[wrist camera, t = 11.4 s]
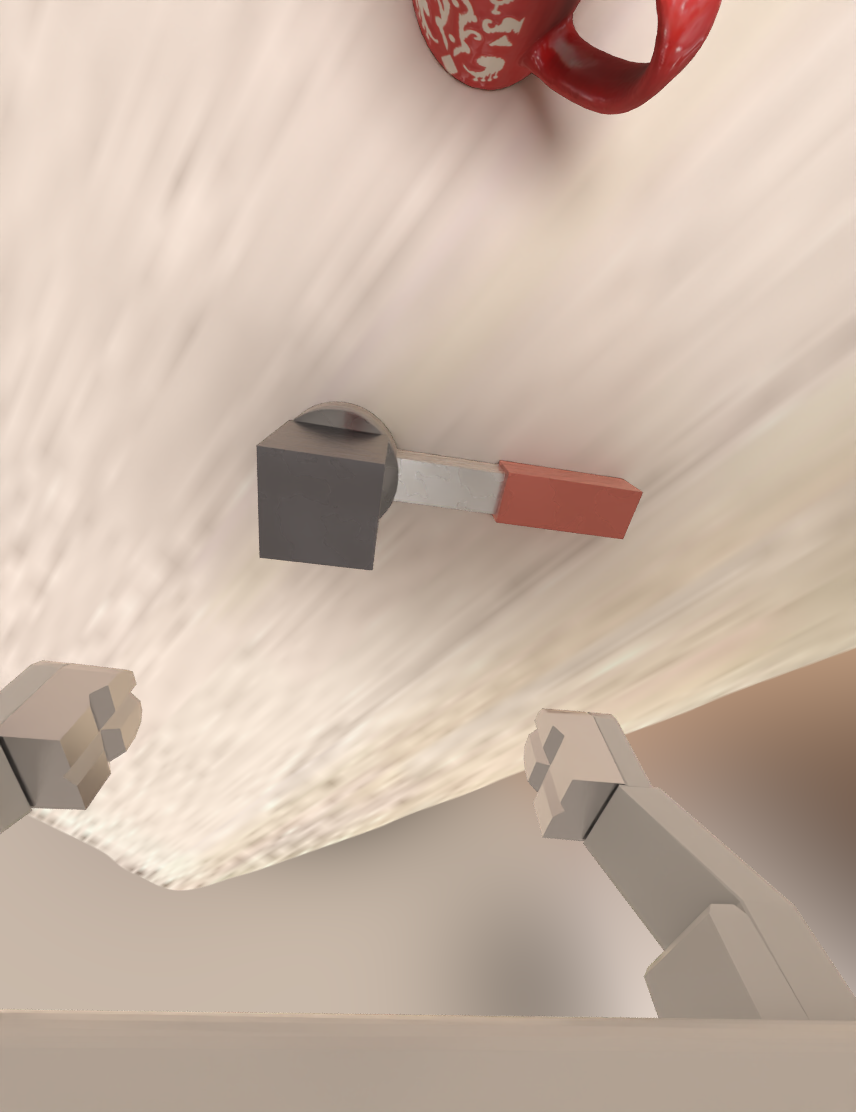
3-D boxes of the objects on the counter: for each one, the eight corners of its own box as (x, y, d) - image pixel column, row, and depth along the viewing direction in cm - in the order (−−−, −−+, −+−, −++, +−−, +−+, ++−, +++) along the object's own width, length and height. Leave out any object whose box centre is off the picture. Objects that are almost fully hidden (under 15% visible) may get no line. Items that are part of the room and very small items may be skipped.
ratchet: (634, 449, 28) (704, 484, 22) (595, 547, 32) (645, 603, 25) (282, 392, 25) (240, 412, 19) (282, 507, 29) (247, 558, 22)
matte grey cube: (388, 435, 24) (384, 464, 19) (378, 523, 27) (372, 570, 21) (289, 419, 23) (256, 445, 18) (288, 511, 26) (259, 557, 21)
